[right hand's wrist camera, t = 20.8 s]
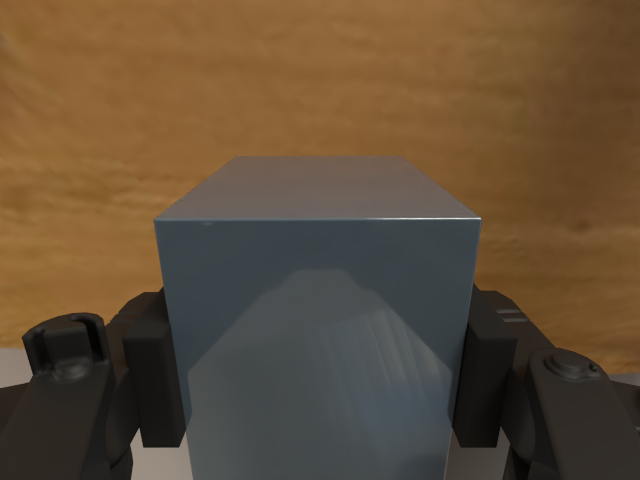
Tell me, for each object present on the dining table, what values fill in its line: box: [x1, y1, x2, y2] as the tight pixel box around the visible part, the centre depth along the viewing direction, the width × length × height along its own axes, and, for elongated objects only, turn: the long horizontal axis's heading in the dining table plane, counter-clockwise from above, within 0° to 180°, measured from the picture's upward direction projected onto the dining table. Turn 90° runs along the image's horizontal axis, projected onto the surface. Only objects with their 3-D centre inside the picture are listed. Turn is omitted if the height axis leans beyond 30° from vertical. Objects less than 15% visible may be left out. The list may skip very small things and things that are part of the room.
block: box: [154, 156, 482, 480], centre depth 12 cm, size 7×6×8 cm
